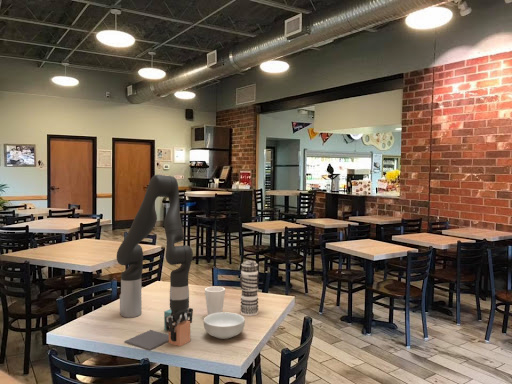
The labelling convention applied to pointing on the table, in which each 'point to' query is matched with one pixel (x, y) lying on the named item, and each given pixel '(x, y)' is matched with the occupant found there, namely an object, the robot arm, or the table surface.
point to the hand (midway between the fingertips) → (179, 338)
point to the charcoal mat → (149, 340)
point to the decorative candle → (249, 288)
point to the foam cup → (214, 299)
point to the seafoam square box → (167, 313)
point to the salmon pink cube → (181, 333)
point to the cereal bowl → (224, 324)
